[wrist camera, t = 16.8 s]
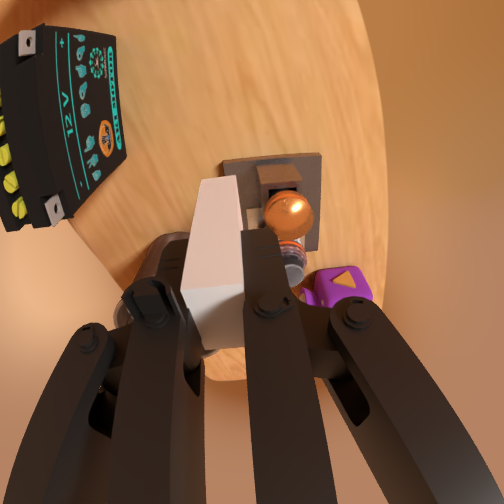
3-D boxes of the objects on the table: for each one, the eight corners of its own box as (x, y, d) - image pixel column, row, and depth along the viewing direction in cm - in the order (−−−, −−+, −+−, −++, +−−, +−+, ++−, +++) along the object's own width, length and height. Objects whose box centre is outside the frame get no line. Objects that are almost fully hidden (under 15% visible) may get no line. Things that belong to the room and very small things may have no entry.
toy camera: (289, 272, 52) (300, 313, 44) (357, 255, 51) (377, 291, 43) (298, 308, 59) (307, 346, 51) (357, 292, 57) (373, 327, 49)
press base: (223, 160, 38) (221, 184, 31) (318, 152, 38) (339, 174, 31) (236, 254, 49) (238, 290, 41) (315, 245, 49) (329, 279, 41)
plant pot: (243, 241, 47) (249, 315, 34) (207, 301, 55) (204, 371, 42) (152, 206, 42) (122, 273, 29) (131, 274, 50) (108, 343, 37)
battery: (128, 157, 37) (63, 229, 21) (76, 166, 36) (2, 236, 20) (117, 35, 25) (29, 22, 9) (61, 53, 24) (-35, 67, 8)
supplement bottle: (285, 248, 46) (299, 297, 37) (252, 239, 45) (258, 289, 36) (301, 219, 43) (320, 265, 34) (266, 208, 42) (277, 254, 33)
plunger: (258, 175, 33) (264, 201, 28) (299, 172, 33) (314, 196, 28) (261, 212, 36) (267, 243, 31) (299, 208, 36) (312, 238, 31)
